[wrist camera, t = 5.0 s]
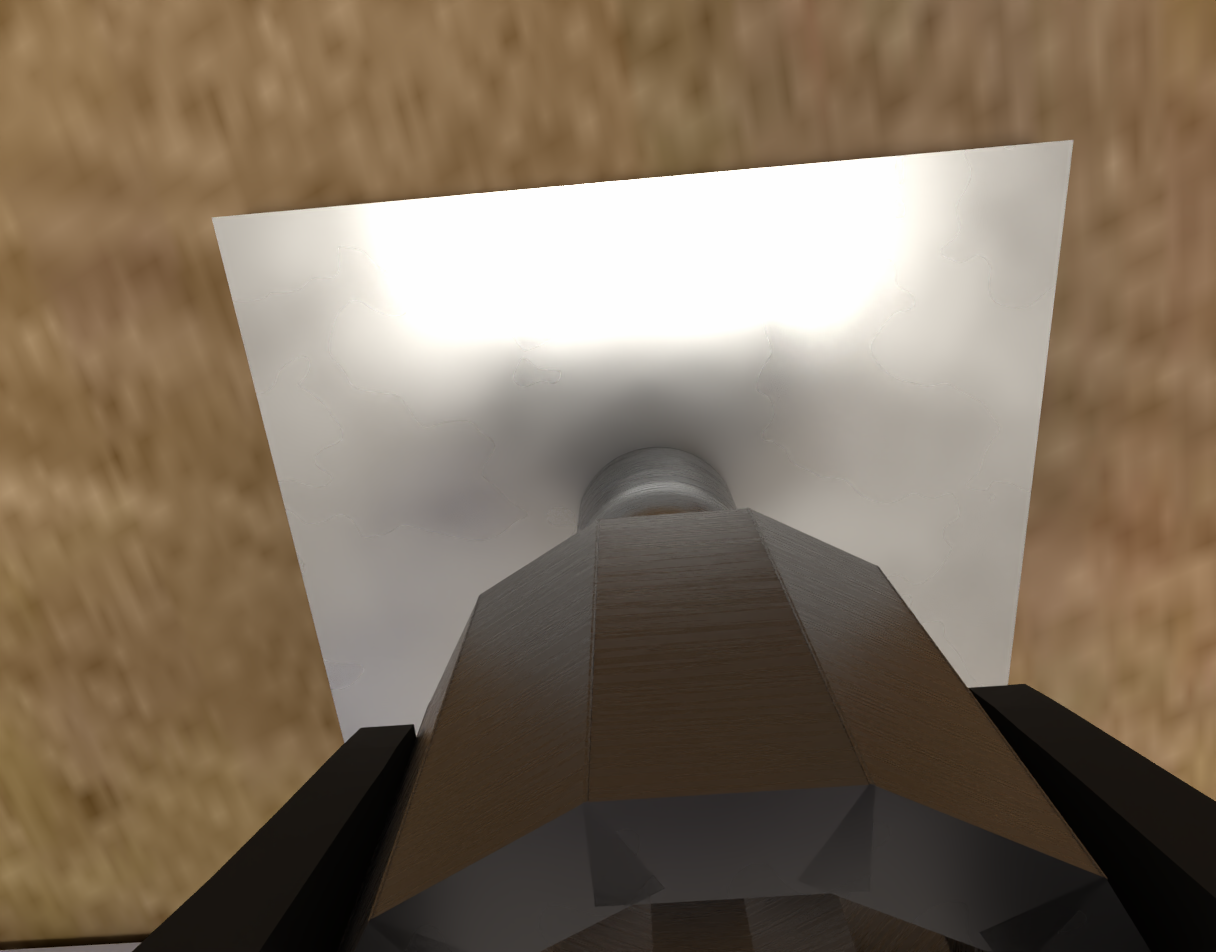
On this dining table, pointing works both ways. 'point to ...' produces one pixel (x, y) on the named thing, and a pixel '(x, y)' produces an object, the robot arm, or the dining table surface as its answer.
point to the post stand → (653, 385)
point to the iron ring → (717, 769)
